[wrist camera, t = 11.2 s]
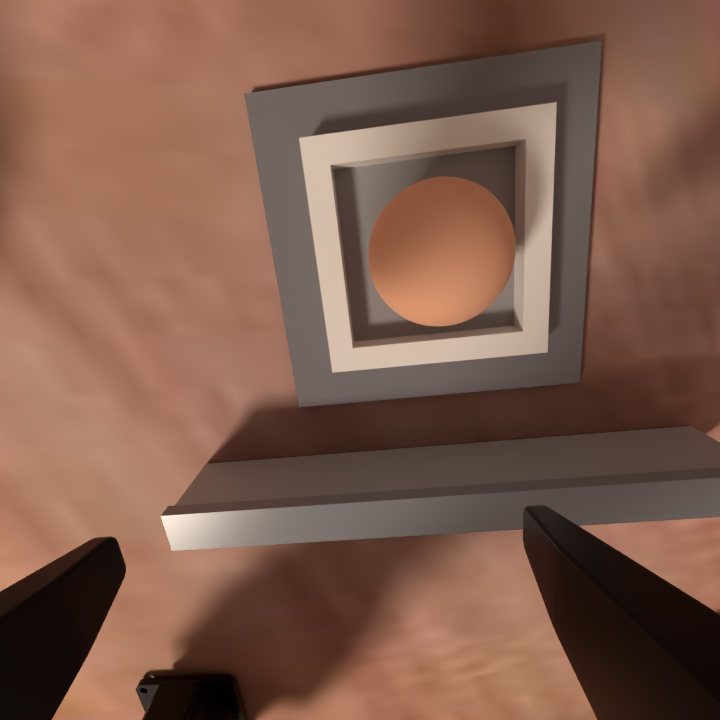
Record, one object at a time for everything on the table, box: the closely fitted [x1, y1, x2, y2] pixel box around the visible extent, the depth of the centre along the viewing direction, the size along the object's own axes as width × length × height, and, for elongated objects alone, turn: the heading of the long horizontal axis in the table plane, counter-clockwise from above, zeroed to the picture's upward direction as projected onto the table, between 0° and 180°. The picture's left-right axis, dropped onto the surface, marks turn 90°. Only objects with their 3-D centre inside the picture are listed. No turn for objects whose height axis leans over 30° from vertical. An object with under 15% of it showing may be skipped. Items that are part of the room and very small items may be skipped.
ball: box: [368, 176, 516, 326], centre depth 13 cm, size 5×5×5 cm
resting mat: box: [245, 40, 602, 407], centre depth 16 cm, size 13×13×2 cm
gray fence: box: [161, 426, 720, 551], centre depth 17 cm, size 2×24×4 cm, turn 96°
